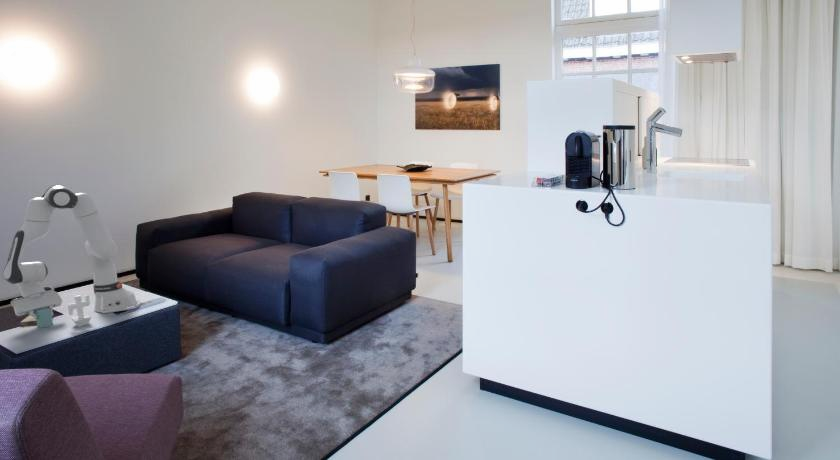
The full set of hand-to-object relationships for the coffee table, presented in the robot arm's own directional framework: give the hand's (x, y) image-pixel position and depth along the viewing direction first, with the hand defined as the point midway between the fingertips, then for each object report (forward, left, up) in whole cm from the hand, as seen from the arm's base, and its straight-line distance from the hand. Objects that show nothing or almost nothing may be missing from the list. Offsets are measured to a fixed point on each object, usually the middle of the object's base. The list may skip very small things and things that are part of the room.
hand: (44, 316), depth 279 cm
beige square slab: (+7, -9, -5) cm, 13 cm away
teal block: (0, 0, -5) cm, 5 cm away
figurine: (-17, +5, -5) cm, 19 cm away
